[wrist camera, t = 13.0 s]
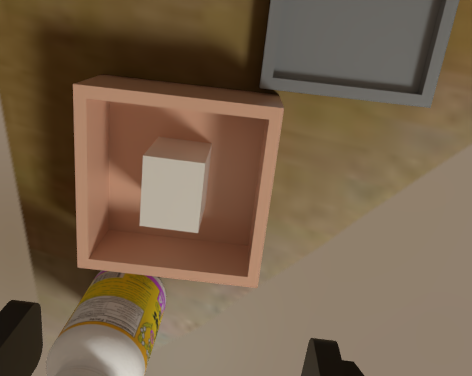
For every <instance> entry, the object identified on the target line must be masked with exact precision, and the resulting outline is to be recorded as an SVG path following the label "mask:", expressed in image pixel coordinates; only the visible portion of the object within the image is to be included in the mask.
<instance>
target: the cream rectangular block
mask: <svg viewBox="0 0 472 376" xmlns="http://www.w3.org/2000/svg"><path fill="white" fill-rule="evenodd" d="M211 148H212V143H205V142H197V141H189V140H181V139H174V138H166V137H158V138H157V139H156V141H155V142H154V143H153V144H152V145H151V147H150V148H149V149H148V150H147V151H146V152H145V154H144V155H143V165H142V186H141V206H140V226H145V227H153V228H161V229H169V230H177V231H185V232H193V233H198V232H199V228H200V224H201V220H202V216H203V212H204V209H205V205H206V195H207V186H208V177H209V167H210V158H211Z"/></svg>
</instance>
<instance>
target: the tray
mask: <svg viewBox="0 0 472 376" xmlns="http://www.w3.org/2000/svg"><path fill="white" fill-rule="evenodd" d="M458 3H459V0H270V5H269V13H268V21H267V29H266V37H265V45H264V53H263V61H262V69H261V77H260V85H259V86H260V88H263V89H272V90H280V91H289V92H298V93H306V94H315V95H324V96H332V97H341V98H350V99H358V100H367V101H376V102H384V103H393V104H401V105H410V106H419V107H427V108H430V107H431V104H432V100H433V96H434V92H435V89H436V85H437V81H438V77H439V74H440V70H441V66H442V63H443V59H444V55H445V51H446V48H447V44H448V40H449V37H450V33H451V29H452V25H453V22H454V18H455V14H456V10H457V7H458Z"/></svg>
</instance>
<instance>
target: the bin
mask: <svg viewBox="0 0 472 376" xmlns="http://www.w3.org/2000/svg"><path fill="white" fill-rule="evenodd" d="M73 107H74V147H75V187H76V227H77V267H78V268H86V269H94V270H103V271H112V272H121V273H130V274H139V275H147V276H156V277H165V278H174V279H183V280H191V281H200V282H209V283H218V284H227V285H236V286H244V287H253V288H257V287H258V280H259V274H260V267H261V260H262V254H263V247H264V240H265V233H266V227H267V220H268V213H269V206H270V200H271V193H272V186H273V179H274V173H275V166H276V159H277V152H278V146H279V139H280V132H281V125H282V119H283V112H284V107H283V104H282V102H281V99H280V96H279V95H277V94H268V93H260V92H251V91H242V90H234V89H225V88H216V87H208V86H199V85H190V84H182V83H173V82H164V81H156V80H147V79H138V78H130V77H121V76H112V75H104V74H102V75H99V76H95V77H92V78H89V79H86V80H83V81H80V82H77V83H74V84H73ZM158 137H166V138H174V139H181V140H189V141H197V142H205V143H212V148H211V158H210V167H209V177H208V186H207V195H206V205H205V209H204V212H203V216H202V220H201V224H200V228H199V232H198V233H193V232H185V231H177V230H169V229H161V228H153V227H145V226H140V206H141V186H142V165H143V155H144V154H145V152H146V151H147V150H148V149H149V148H150V147H151V145H152V144H153V143H154V142H155V141H156V139H157V138H158Z"/></svg>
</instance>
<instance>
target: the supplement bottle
mask: <svg viewBox="0 0 472 376" xmlns="http://www.w3.org/2000/svg"><path fill="white" fill-rule="evenodd" d="M165 304H166V293H165V289H164V286H163V284H162V282H161V281H160V279H159V278H158V277H156V276H147V275H139V274H130V273H121V272H112V271H103V270H101V271H100V272H99V273H98V274H97V275H96V277H95V278H94V280H93V281H92V283H91V284H90V286H89V288H88V289H87V291H86V293H85V294H84V296H83V298H82V299H81V301H80V302H79V304H78V306H77V307H76V309H75V310H74V312H73V314H72V315H71V317H70V318H69V320H68V322H67V323H66V325H65V326H64V328H63V330H62V331H61V333H60V334H59V336H58V338H57V339H56V341H55V342H54V344H53V346H52V347H51V349H50V351H49V353H48V357H47V361H46V373H47V376H144V374H145V371H146V368H147V364H148V361H149V358H150V355H151V352H152V348H153V345H154V342H155V339H156V335H157V332H158V329H159V326H160V322H161V319H162V316H163V312H164V309H165Z"/></svg>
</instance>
